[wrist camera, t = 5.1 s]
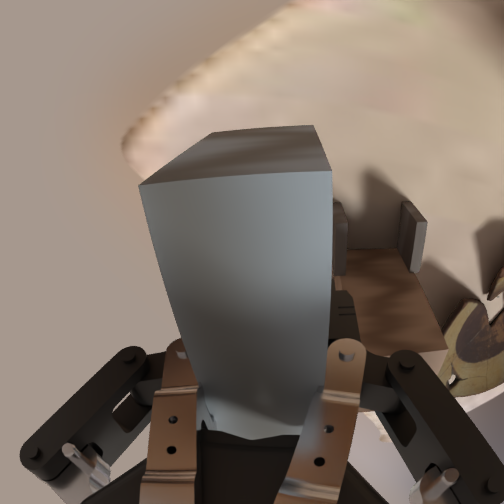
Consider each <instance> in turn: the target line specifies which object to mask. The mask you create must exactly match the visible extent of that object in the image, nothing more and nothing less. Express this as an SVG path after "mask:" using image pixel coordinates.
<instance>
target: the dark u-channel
mask: <svg viewBox="0 0 504 504" xmlns="http://www.w3.org/2000/svg"><path fill="white" fill-rule="evenodd" d="M427 223H428V222H427V221H426V219H425V218H424V217H423V216H422V214H421V213H420V212H419V211H418V209H417V208H416V207H415V206H414V205H413V203H412V202H402V206H401V217H400V227H399V236H398V244H397V248H387V249H354V250H347V236H348V222H347V219H346V216H345V213H344V210H343V207H342V204H341V203H333V234H332V265H333V271H334V281H335V288H336V290H347V291H348V292H349V294H350V295H351V296H352V297H353V301H354V306H355V311H356V317H357V322H358V328H359V333H360V339H361V343H362V344H363V346H364V347H365V349H366V350H368V351H369V352H371V353H373V354H375V355H379V356H384V357H390V356H391V355H392V354H393V353H394V352H396V351H399V350H411V351H414V352H416V353H418V354H419V355H421V356H422V358H423V359H424V360H425V361H426V362H427V364H428V365H429V366H430V367H431V369H432V370H433V371H434V372H435V374H436V375H438V373H439V371H440V369H441V366H442V364H443V362H444V359H445V357H446V355H447V352H448V350H449V348H448V346H447V344H446V341H445V339H444V336H443V334H442V331H441V329H440V327H439V324H438V322H437V320H436V318H435V315H434V313H433V311H432V309H431V307H430V304H429V302H428V300H427V298H426V296H425V294H424V292H423V289H422V287H421V285H420V283H419V281H418V279H417V277H416V275H415V273H419V271H420V266H421V260H422V255H423V249H424V243H425V236H426V230H427ZM370 411H374V410H369V409H364V408H360V407H359V409H358V412H370Z"/></svg>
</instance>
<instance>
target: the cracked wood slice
mask: <svg viewBox="0 0 504 504" xmlns="http://www.w3.org/2000/svg"><path fill="white" fill-rule="evenodd" d="M503 291H504V267H502V269H501V270H500V271H499V272H498V274H497V277H496V278H495V279H494V282H493V283H492V286H491V289H490V290H489V294H488V297H487V300H489V301H491V300H493V299H494V298H495V297H497V298H498V297H499V296H498V295H499V294H500V293H501V292H503ZM488 319H489V318H488V314H487V310H486V308H485V306H484V304H483V303H482V302H481V301H478V300H476V299H468V298H466V299H463V300H461V302H460V303H459V304H458V306H457V307H456V308H455V309H454V311H453V312H452V314H451V315H450V317H449V318H448V320H447V322H446V323H445V325H444V327H443V329H442V330H441V331H442V334H443V336H444V339H445V341H446V344H447V346H448V348H449V350H448V352H447V355H446V357H445V359H444V362H443V364H442V366H441V369H440V371H439V373H438V375H437V376H438V377H439V379H440V380H441V381H442V382H443V384H444V385H445V386H446V388H447V389H448V390H449V391H450V393H451V394H452V395H453V397H454V398H455V397H466V396H471V395H476V394H480V393H483V392H486V391H488V390H490V389H493V388H495V387H497V386H499V385H501V384H502V383H504V309H503V311H502V312H501V313H500V314H499V316H498V317H497V318H496V319H495V320H494V322H493V323H492V324H491V325H489V322H488ZM452 374H454V375H456V378H455V380H454V381H453V383H451V384H449V381H448V380H449V379H450V377H451V375H452Z"/></svg>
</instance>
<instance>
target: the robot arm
mask: <svg viewBox="0 0 504 504" xmlns="http://www.w3.org/2000/svg"><path fill="white" fill-rule="evenodd" d="M129 392H130V393H131V394H130V395H129V396H128V397H127V398H126V399H125V400H124V401H123V402H122V403H121V404H120V405H119V406H118V408H117V409H116V410H115V411H114V412H113V409H114V408H115V406H116V405H117V404H118V403H119V402H120V401H121V400H122V399H123V398H124V397H125V396H126V395H127V394H128V393H129ZM359 407H360V408H364V409H369V410H374V411H375V413H376V415H377V416H378V418H379V420H380V421H381V423H382V425H383V426H384V428H385V430H386V431H387V433H388V435H389V436H390V438H391V440H392V442H393V443H394V445H395V447H396V448H397V450H398V452H399V453H400V455H401V457H402V458H403V460H404V462H405V463H406V465H407V467H408V469H409V470H410V472H411V474H412V475H413V477H414V479H415V481H416V484H415V485H414V486H413V487H412V489H411V491H410V495H409V501H410V504H500V503H502V502H503V501H504V465H503V464H502V462H501V461H500V459H499V458H498V456H497V455H496V454H495V452H494V451H493V449H492V448H491V446H490V445H489V444H488V443H487V441H486V439H485V438H484V437H483V435H482V434H481V433H480V431H479V430H478V428H477V427H476V426H475V424H474V423H473V422H472V420H471V419H470V418H469V417H468V415H467V414H466V412H465V411H464V410H463V408H462V407H461V406H460V404H459V403H458V402H457V400H456V399H455V398H454V397H453V395H452V394H451V393H450V391H449V390H448V389H447V388H446V386H445V385H444V384H443V382H442V381H441V380H440V379H439V377H438V376H437V375H436V374H435V372H434V371H433V370H432V369H431V367H430V366H429V365H428V364H427V362H426V361H425V360H424V359H423V358H422V356H421V355H419V354H418V353H416V352H414V351H411V350H399V351H396V352H394V353H393V354H392V355H391V356H390V357H384V356H379V355H375V354H373V353H371V352H369V351H368V350H366V349H365V347H364V346H363V344H362V343H361V339H360V333H359V328H358V322H357V317H356V311H355V306H354V301H353V297H352V296H351V295H350V294H349V292H348V291H347V290H336V288H335V281H334V279H331V301H330V320H329V335H328V349H327V362H326V373H325V383H324V386H318V387H317V391H316V392H314V394H313V397H312V400H311V403H310V406H309V410H308V413H307V416H306V419H305V422H304V425H303V428H302V431H301V434H300V435H279V436H273V437H268V438H262V439H256V440H249V439H245V438H242V437H239V436H236V435H233V434H229V433H226V432H223V431H217V424H216V420H215V417H214V416H211V415H210V413H209V411H208V408H207V406H206V403H205V396H204V389H203V386H202V383H201V382H197V380H196V377H195V374H194V372H193V369H192V366H191V363H190V361H189V358H188V355H187V352H186V349H185V346H184V344H183V341H182V338H179V339H177V340H175V341H173V342H172V343H171V344H170V345H169V346H168V347H167V349H166V351H165V352H161V353H155V354H149V355H146V353H145V351H144V350H143V349H142V348H141V347H137V346H130V347H126V348H124V349H122V350H121V351H119V352H118V353H117V354H116V355H115V356H114V357H113V358H112V359H111V360H110V361H108V362H107V363H106V364H105V365H104V366H103V367H102V368H101V369H100V370H99V371H98V372H97V373H96V374H95V375H94V376H93V377H92V378H91V379H90V380H89V381H88V382H87V383H85V385H84V386H82V387H81V388H80V389H79V390H78V391H77V392H76V393H75V394H74V395H73V396H72V397H71V398H70V399H69V400H68V401H67V402H66V403H65V404H64V405H63V406H62V407H61V408H60V409H59V410H58V411H57V412H56V413H55V414H53V415H52V416H51V417H50V418H49V419H48V420H47V421H46V422H45V423H44V424H43V425H42V426H41V427H40V429H38V430H37V431H36V432H35V433H34V434H33V435H32V436H31V437H30V438H29V439H28V440H27V441H26V442H25V443H24V444H23V446H22V448H21V450H20V461H21V462H22V465H23V466H24V467H25V468H27V469H28V470H29V471H31V472H32V473H33V474H35V475H36V477H37V478H39V479H40V480H41V481H43V482H44V483H45V484H47V485H48V486H50V487H51V488H52V489H53V490H54V491H55V493H56V494H57V495H58V496H59V497H60V498H61V499H62V500H63V501H64V502H65V503H66V504H389V503H388V502H387V501H386V500H385V499H384V498H383V497H382V496H381V495H380V494H379V493H378V492H377V491H376V490H375V489H374V488H373V487H372V486H371V485H370V484H369V483H368V482H367V481H366V480H365V479H364V478H363V477H362V476H361V475H360V473H359V472H358V471H357V470H356V469H355V468H354V467H353V466H352V465H351V464H350V463H349V462H348V456H349V452H350V448H351V444H352V439H353V434H354V430H355V425H356V419H357V414H358V409H359ZM112 412H113V413H112ZM150 421H151V423H150ZM149 423H150V432H149V443H148V454H147V458H146V459H144V460H143V461H141V462H140V463H139V464H137V465H136V466H134V467H133V468H131V469H130V470H128V471H127V472H125V473H124V474H122V475H121V476H119V477H118V478H116V479H115V480H113V481H112V482H110V467H111V466H112V464H113V463H114V462H115V461H116V460H117V459H118V458H119V457H120V455H121V454H122V453H123V452H124V451H125V450H126V449H127V448H128V447H129V445H130V444H131V443H132V442H133V441H134V440H135V439H136V437H137V436H138V435H139V434H140V433H141V432H142V431H143V429H144V428H145V427H146V426H147V425H148V424H149Z"/></svg>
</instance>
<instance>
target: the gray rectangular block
mask: <svg viewBox="0 0 504 504" xmlns="http://www.w3.org/2000/svg"><path fill="white" fill-rule="evenodd" d="M138 187H139V191H140V195H141V199H142V204H143V207H144V212H145V216H146V219H147V224H148V227H149V231H150V235H151V239H152V242H153V246H154V250H155V253H156V257H157V260H158V264H159V267H160V271H161V275H162V278H163V281H164V285H165V288H166V291H167V295H168V298H169V301H170V304H171V307H172V310H173V314H174V317H175V320H176V323H177V326H178V329H179V332H180V335H181V338H182V341H183V344H184V346H185V349H186V352H187V355H188V358H189V361H190V363H191V366H192V369H193V372H194V374H195V377H196V380H197V382H201V383H202V386H203V389H204V396H205V403H206V406H207V408H208V411H209V413H210V415H211V416H214V417H215V420H216V424H217V431H223V432H226V433H229V434H233V435H236V436H239V437H242V438H245V439H249V440H256V439H262V438H268V437H273V436H279V435H300V434H301V431H302V428H303V425H304V422H305V419H306V416H307V413H308V410H309V406H310V403H311V400H312V397H313V394H314V392H316V391H317V387H318V386H324V383H325V373H326V362H327V349H328V335H329V320H330V301H331V277H332V234H333V196H332V170H331V167H330V164H329V162H328V159H327V157H326V154H325V152H324V149H323V147H322V144H321V142H320V140H319V137H318V135H317V132H316V130H315V128H314V125H302V126H282V127H267V128H254V129H242V130H232V131H223V132H214V133H211V134H209V135H208V136H206V137H205V138H203V139H202V140H200V141H199V142H197V143H196V144H195V145H193V146H192V147H190V148H189V149H187V150H186V151H184V152H183V153H182V154H180V155H179V156H177V157H176V158H175V159H173V160H172V161H170V162H169V163H168V164H166V165H165V166H164V167H162V168H161V169H159V170H158V171H157V172H155V173H154V174H153V175H151V176H150V177H149V178H147V179H146V180H145V181H144V182H142V183H141V184H140V185H139V186H138Z"/></svg>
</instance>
